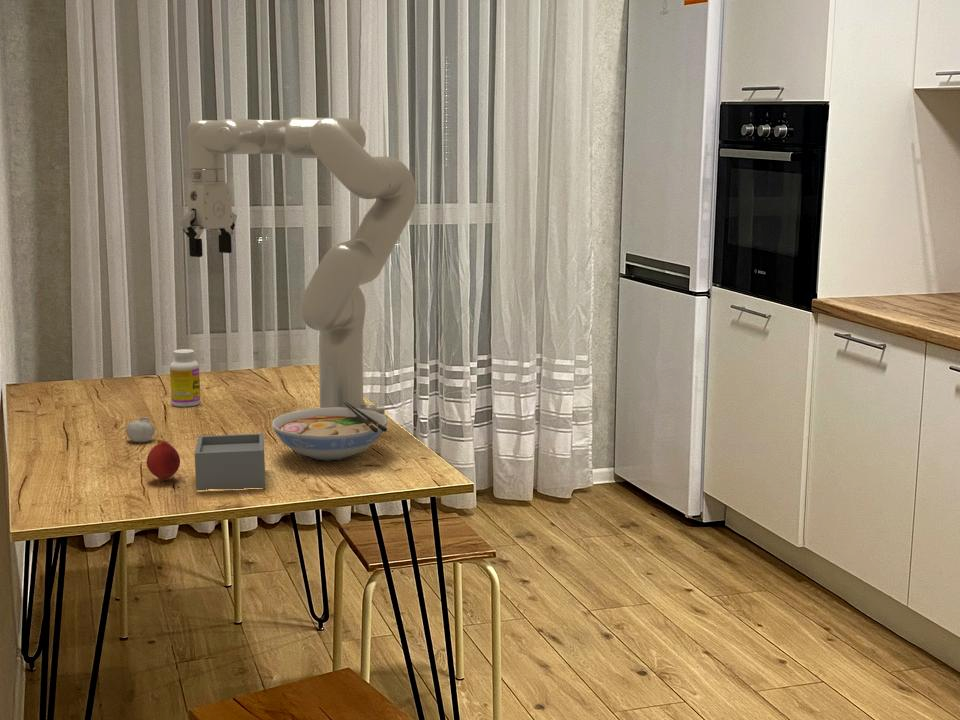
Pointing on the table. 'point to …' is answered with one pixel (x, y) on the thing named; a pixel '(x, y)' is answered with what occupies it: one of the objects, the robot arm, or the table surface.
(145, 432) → the garlic
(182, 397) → the supplement bottle
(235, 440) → the grey hollow box
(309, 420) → the ramen bowl
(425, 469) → the table surface
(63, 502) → the table surface
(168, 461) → the onion
